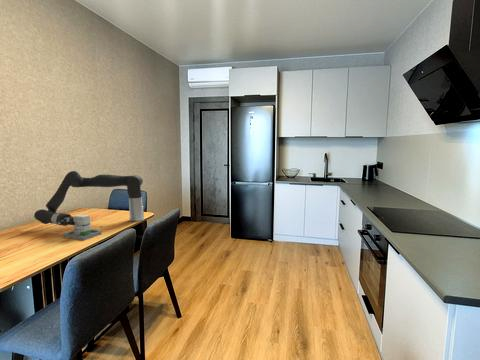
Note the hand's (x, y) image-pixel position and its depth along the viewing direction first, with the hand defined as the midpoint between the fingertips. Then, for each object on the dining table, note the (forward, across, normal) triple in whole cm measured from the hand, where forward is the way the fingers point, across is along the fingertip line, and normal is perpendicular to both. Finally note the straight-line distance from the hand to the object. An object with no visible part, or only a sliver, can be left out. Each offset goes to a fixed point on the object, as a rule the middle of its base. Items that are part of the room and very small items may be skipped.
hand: (80, 221), depth 164 cm
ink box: (+1, 0, +8) cm, 8 cm away
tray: (+1, 0, +9) cm, 9 cm away
